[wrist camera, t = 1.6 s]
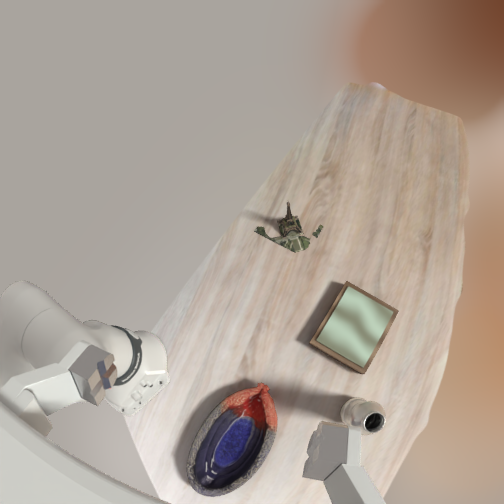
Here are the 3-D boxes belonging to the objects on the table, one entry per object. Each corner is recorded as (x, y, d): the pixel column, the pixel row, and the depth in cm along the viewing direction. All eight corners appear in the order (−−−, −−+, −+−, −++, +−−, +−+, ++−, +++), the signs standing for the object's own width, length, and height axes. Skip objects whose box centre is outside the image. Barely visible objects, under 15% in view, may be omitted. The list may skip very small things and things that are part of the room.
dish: (175, 469, 59) (167, 475, 55) (241, 369, 68) (237, 368, 63) (230, 504, 55) (226, 512, 50) (301, 402, 63) (301, 404, 58)
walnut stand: (361, 374, 63) (364, 373, 60) (309, 343, 68) (309, 341, 64) (394, 313, 67) (399, 310, 64) (344, 284, 72) (346, 280, 68)
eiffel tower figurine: (253, 232, 81) (244, 205, 69) (273, 202, 83) (268, 172, 71) (305, 259, 76) (306, 235, 64) (324, 226, 79) (327, 197, 66)
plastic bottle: (332, 410, 61) (346, 422, 43) (356, 390, 62) (378, 395, 43) (350, 430, 58) (369, 449, 40) (373, 410, 59) (401, 421, 41)
